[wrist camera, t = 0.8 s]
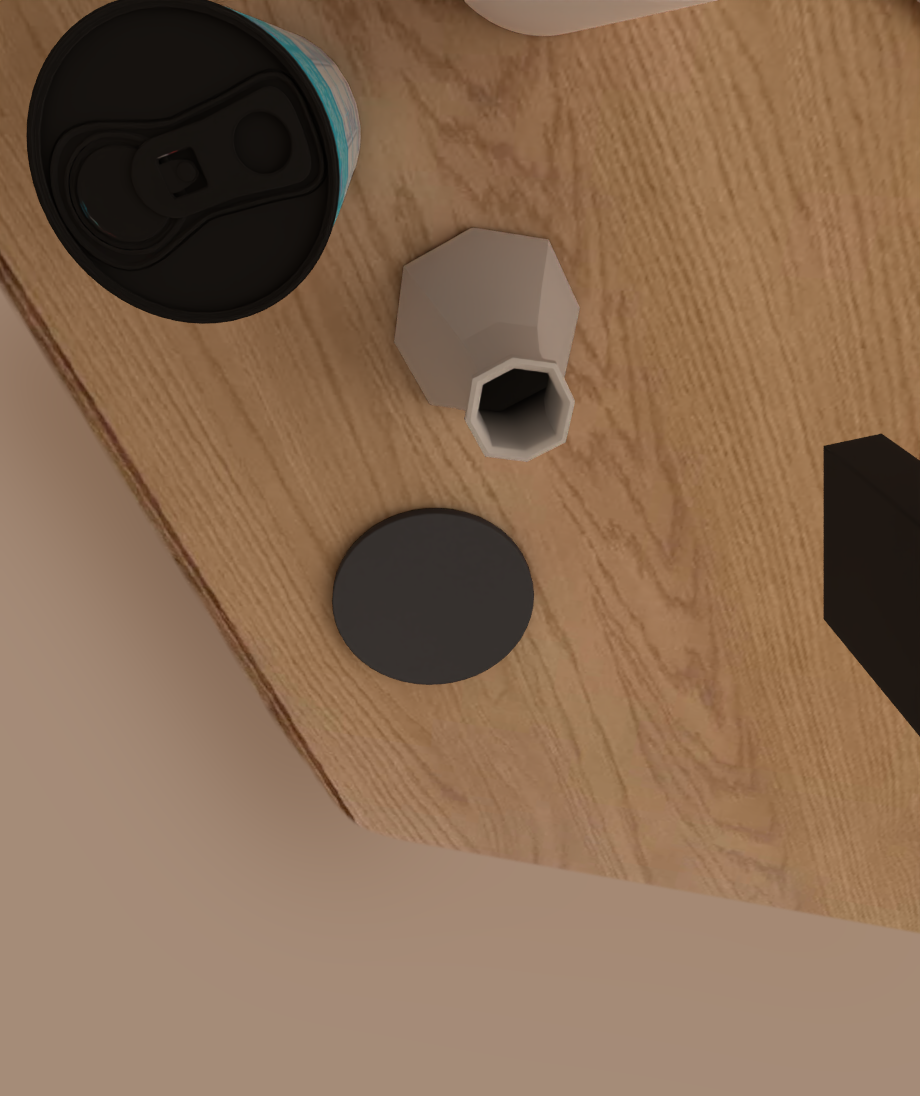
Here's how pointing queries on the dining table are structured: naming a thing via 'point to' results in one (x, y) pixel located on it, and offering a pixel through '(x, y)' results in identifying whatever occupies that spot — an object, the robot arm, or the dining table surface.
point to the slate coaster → (432, 596)
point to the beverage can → (191, 155)
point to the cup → (569, 13)
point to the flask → (492, 338)
